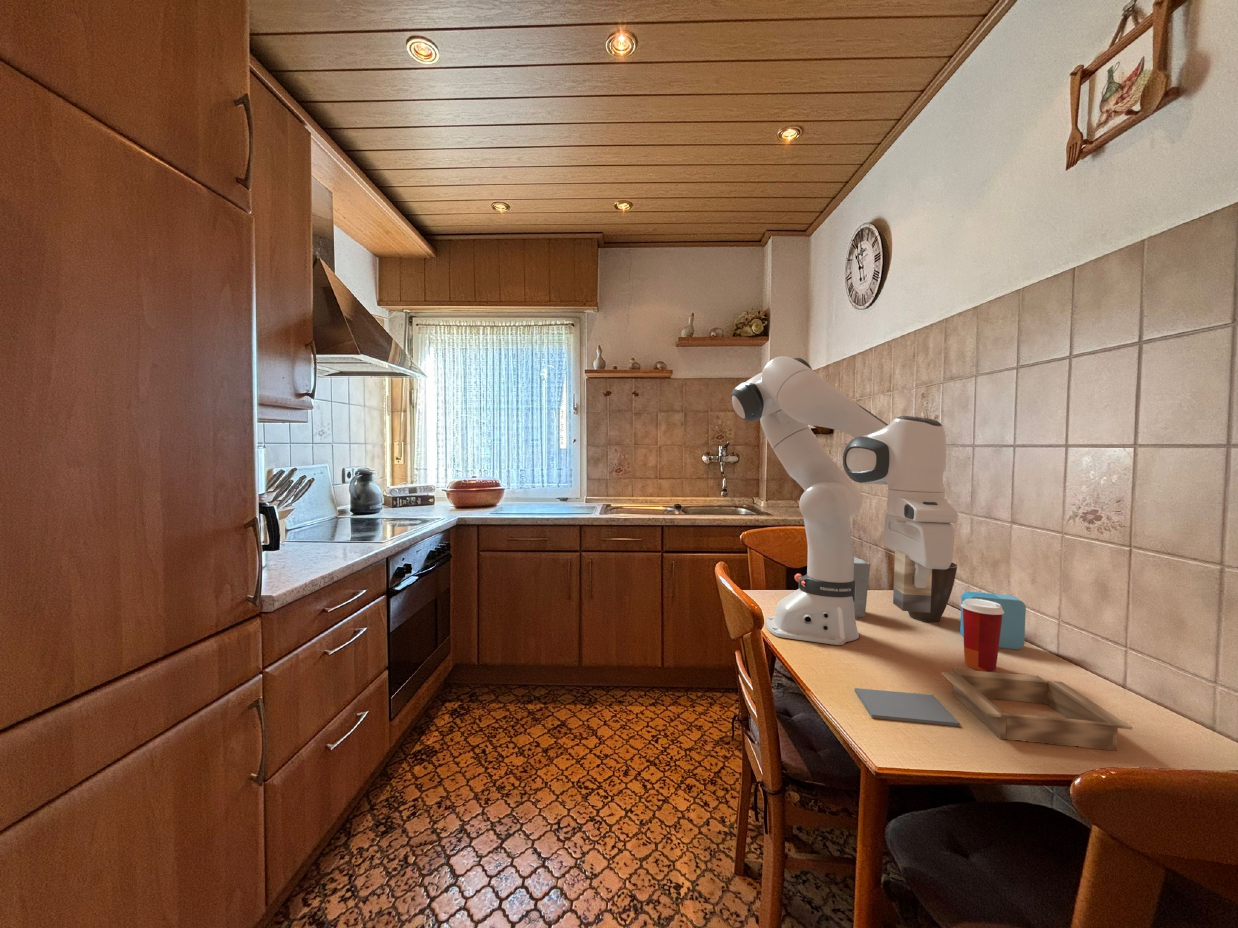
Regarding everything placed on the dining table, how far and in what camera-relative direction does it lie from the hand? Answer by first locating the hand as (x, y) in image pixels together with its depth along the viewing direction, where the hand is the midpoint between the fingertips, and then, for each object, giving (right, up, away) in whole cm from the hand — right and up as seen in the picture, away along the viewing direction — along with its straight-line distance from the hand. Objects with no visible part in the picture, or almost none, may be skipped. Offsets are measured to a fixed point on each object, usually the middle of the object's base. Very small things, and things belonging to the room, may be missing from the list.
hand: (911, 582), depth 91 cm
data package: (+39, -23, +33) cm, 56 cm away
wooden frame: (+19, -23, -3) cm, 30 cm away
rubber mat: (-1, -23, +1) cm, 23 cm away
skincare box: (+14, -22, +55) cm, 61 cm away
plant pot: (+34, -22, +52) cm, 66 cm away
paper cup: (+26, -23, +20) cm, 40 cm away
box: (0, -5, 0) cm, 5 cm away
